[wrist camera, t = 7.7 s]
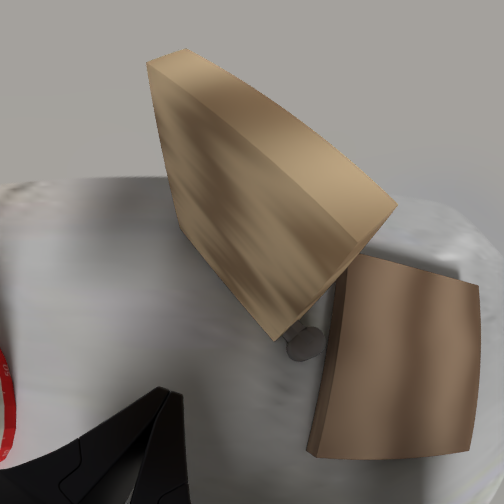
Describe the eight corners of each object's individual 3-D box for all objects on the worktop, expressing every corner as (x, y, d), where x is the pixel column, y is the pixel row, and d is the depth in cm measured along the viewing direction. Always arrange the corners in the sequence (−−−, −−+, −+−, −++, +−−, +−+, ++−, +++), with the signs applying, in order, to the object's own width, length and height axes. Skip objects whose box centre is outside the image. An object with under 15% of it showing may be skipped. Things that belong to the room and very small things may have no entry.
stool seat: (461, 295, 22) (478, 285, 20) (450, 448, 16) (469, 450, 14) (338, 265, 23) (349, 250, 20) (306, 450, 16) (316, 457, 14)
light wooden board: (318, 348, 19) (454, 266, 7) (297, 368, 19) (423, 314, 6) (201, 214, 23) (186, 48, 11) (180, 228, 23) (146, 62, 10)
